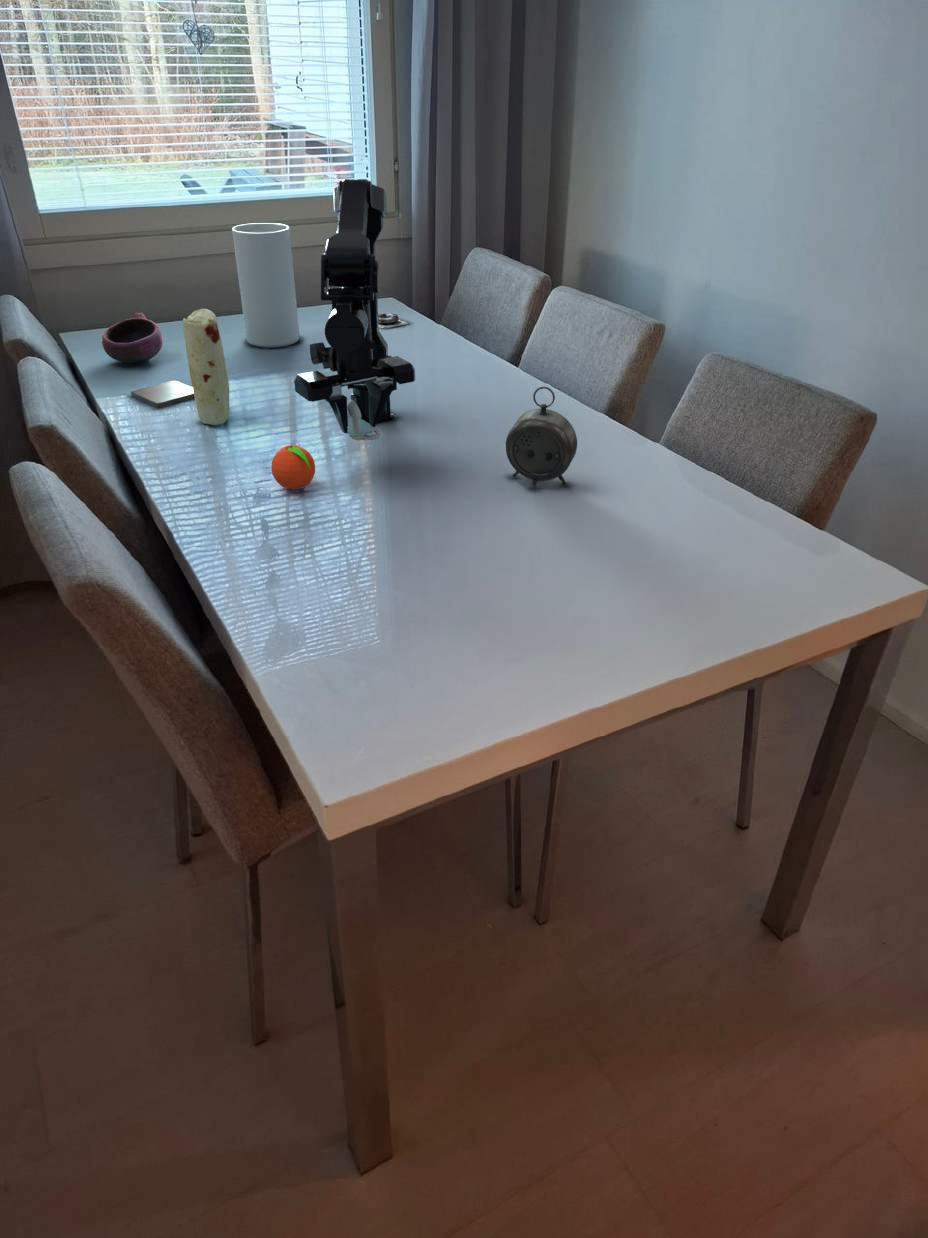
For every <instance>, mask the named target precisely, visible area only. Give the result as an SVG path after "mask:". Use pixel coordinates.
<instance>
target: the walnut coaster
mask: <svg viewBox="0 0 928 1238" xmlns="http://www.w3.org/2000/svg"><path fill="white" fill-rule="evenodd" d="M130 395H131V397H132V398H134V399H136V400H139V401H141V402H143V403H145V404H147V405H150V406H152V407H154V408H156V409H161V408H165V407H168V406H171V405H175V404H178V403H181V402H182V403H183V402H185V401H189V400H192V399H195V397H194V392H193V387H192V386H190V385H188V384H185V383H183V382H180V381H178V380H175V379H173V380H169V381H166V382H162V383H157V384H155V385H150V386H148V387H143V388H139V389H136V390H132V391H130Z"/></svg>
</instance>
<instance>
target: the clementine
mask: <svg viewBox="0 0 928 1238" xmlns="http://www.w3.org/2000/svg"><path fill="white" fill-rule="evenodd" d="M270 465H271V466H270V470H271V474H272V476H273V479H274V480H275V481H276V483H278V485H280V486H281V487H283V488H285V489H287V490H291V491H292V490H300V489H304V488H305V487H307V486H308V485H309V484H310V483H311V482H312V480H313V479H314V477H315V474H316V464H315V459H314V458H313V456H312V454H311V453H310V452H309V451H308V450H307V449H305V448H304V447H302V446H299V445H296V444H294V445H293V444H292V445H291V444H290V445H284V446H283V447H282V448H280V449H279V450H277V451H276V452H275V454H274V455H273V457H272V460H271V464H270Z"/></svg>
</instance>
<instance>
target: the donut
mask: <svg viewBox="0 0 928 1238" xmlns="http://www.w3.org/2000/svg"><path fill="white" fill-rule="evenodd" d="M408 324H409V322H406V321H404V320H401V319H399V315H398V313H393V312H384V313H378V326H379V329H380V328H381V329H389V328H394V327H399V326H404V325H408Z"/></svg>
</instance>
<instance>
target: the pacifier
mask: <svg viewBox="0 0 928 1238" xmlns="http://www.w3.org/2000/svg"><path fill="white" fill-rule="evenodd" d="M347 414H348V430H347V433H346V435H348V436H349V437H350V438H351V439H352V440H354V441H364V440H367V441H369V440H377V439H379V438H381V437H382V434H383V433H382V431H381V429H380V428H378V427H377V426H375V427H372V426H371V425H370V424H369V423H367V422H366V421H364V420H362V419H361V412H360V410H359V408H358V406H357V404H356V403H355V402H354V401H353V400H351V399H350V400H349V401H348V402H347ZM373 432H374V433H375V434H372V433H373Z"/></svg>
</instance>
